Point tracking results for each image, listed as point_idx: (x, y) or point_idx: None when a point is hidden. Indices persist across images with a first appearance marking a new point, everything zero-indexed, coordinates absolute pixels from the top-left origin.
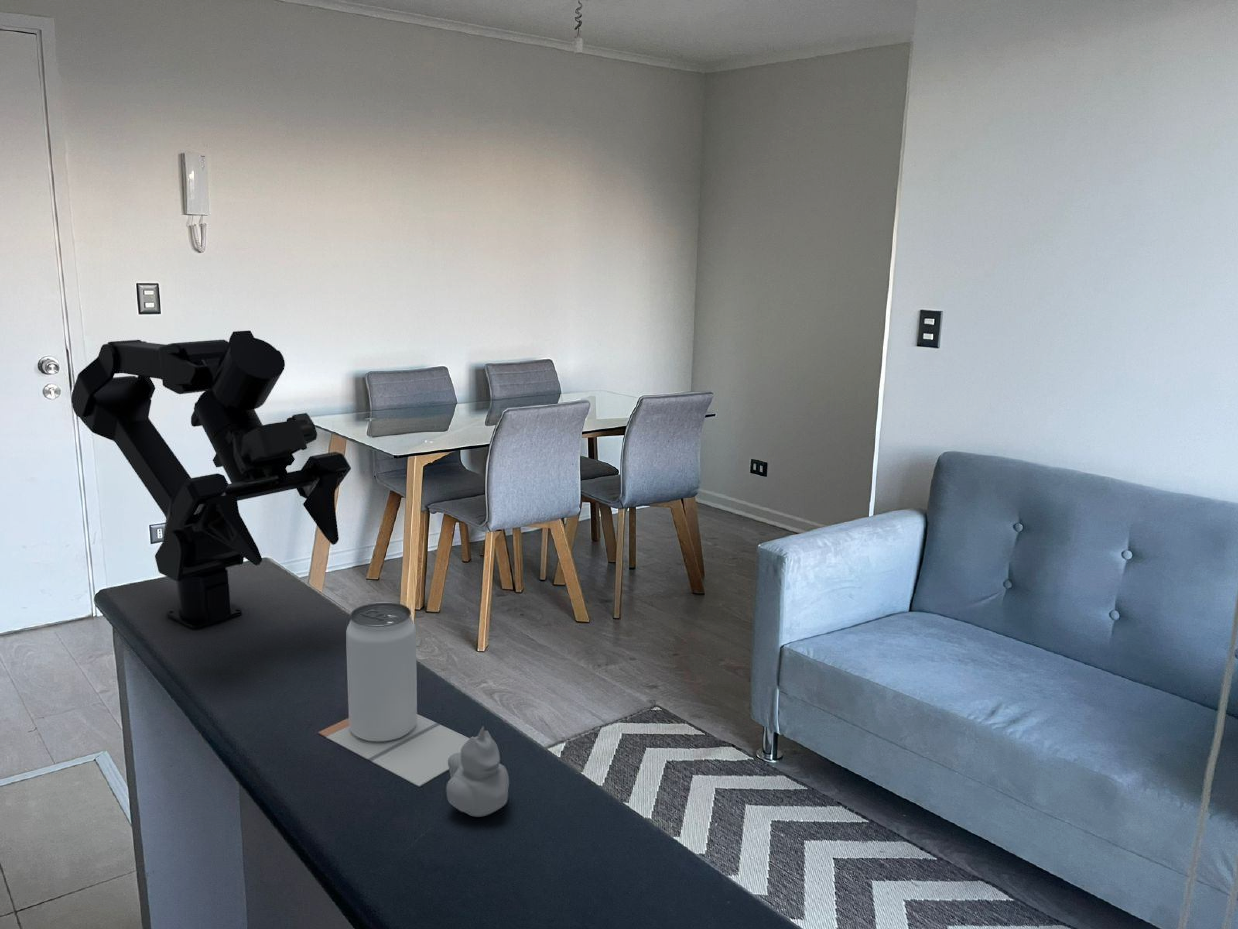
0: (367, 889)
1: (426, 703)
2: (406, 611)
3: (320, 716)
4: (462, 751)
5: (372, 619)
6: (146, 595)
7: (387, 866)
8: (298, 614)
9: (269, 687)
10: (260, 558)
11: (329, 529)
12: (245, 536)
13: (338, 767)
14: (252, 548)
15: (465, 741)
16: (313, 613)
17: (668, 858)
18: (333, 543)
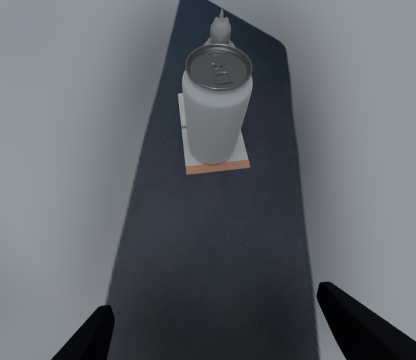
0: (285, 57)
1: (167, 154)
2: (188, 65)
3: (237, 188)
4: (230, 29)
5: (229, 67)
6: None
7: (272, 61)
8: None
9: (250, 265)
10: (327, 283)
11: (92, 350)
12: (408, 345)
13: (256, 128)
14: (360, 307)
15: (183, 103)
16: None
17: (182, 11)
18: (113, 315)
